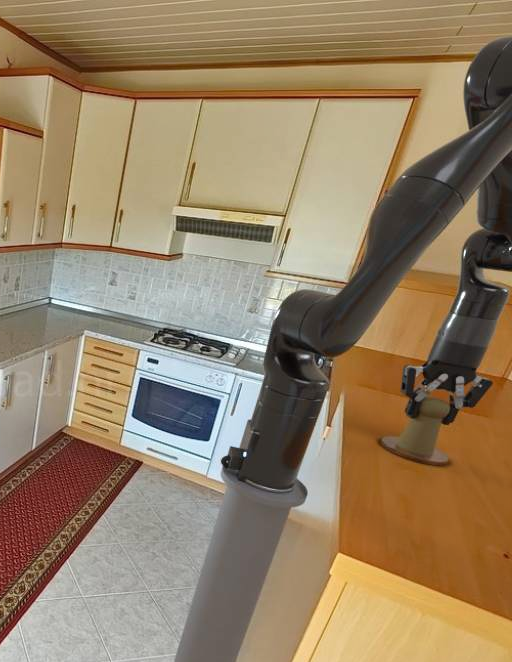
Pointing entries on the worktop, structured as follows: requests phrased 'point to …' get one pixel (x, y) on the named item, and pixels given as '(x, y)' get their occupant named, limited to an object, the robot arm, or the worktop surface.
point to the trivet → (434, 459)
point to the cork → (424, 427)
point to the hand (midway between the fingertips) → (427, 420)
